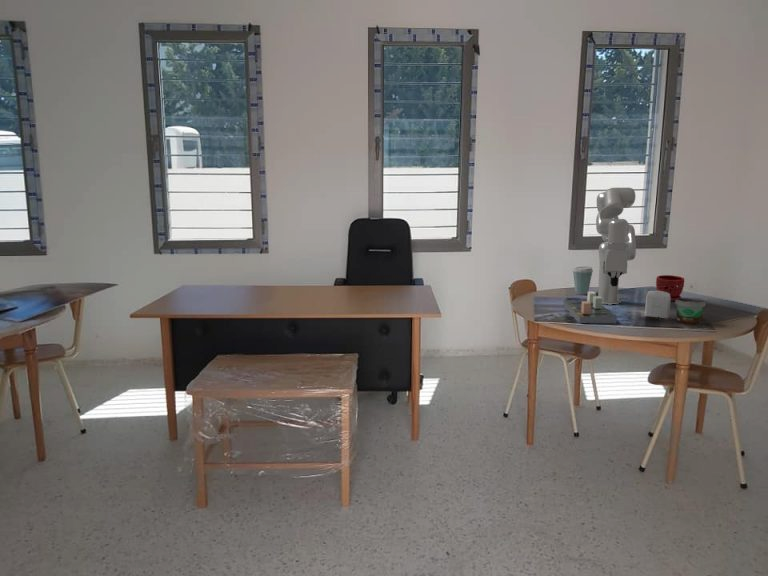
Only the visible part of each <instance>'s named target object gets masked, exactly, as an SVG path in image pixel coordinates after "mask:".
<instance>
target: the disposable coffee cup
mask: <svg viewBox="0 0 768 576" xmlns="http://www.w3.org/2000/svg"><path fill="white" fill-rule="evenodd" d="M593 272H594V271H593V267H592V266H588V265H587V266H575V267H574V268H573V269H572V273H573V283H574V291H575V294H576V295H583V296H584V295H588V292H590V286H591V280H592V277H593V276H592V275H593Z"/></svg>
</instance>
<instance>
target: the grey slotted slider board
mask: <svg viewBox="0 0 768 576" xmlns="http://www.w3.org/2000/svg"><path fill="white" fill-rule="evenodd" d="M582 301H585V300H578V299H577V300H573V299H571V300H566V299H565V300H563V307H564V308H565V310H566V311H567V312H568V311H569V312H568V313H569V314H570V316H572V318H574V319H575V320H576V321H577V323H578V322H579V323H590V325H592V324H593V325H594V324H596V325H597V324H599V325H601V324H603V325H605V324H606V325H607V324H608V325H610V324H611V325H612V324H613V325H616V324H617V316H616V315H614V313H612V312H611V311H610V310H608V309H607V308H606V307H605V306H604V305H602V309H595V308H594V307H593V303H591V310H590V314H583V313H582V312H581V304H582ZM579 323H578V324H579Z"/></svg>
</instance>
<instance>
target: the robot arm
mask: <svg viewBox="0 0 768 576" xmlns="http://www.w3.org/2000/svg"><path fill="white" fill-rule="evenodd" d="M635 201H636V191H635V189H633V188H632V187H610V188H607V190H605V191H602V192H601V193H598V194H597V196H596V208H597V211H598V212H597V215H596V219H595V224H596V225H595V226H596V232H597V233H598V234H599V235H601V239H602V241H603V242H602V243H600V244H599V247H598V257H599V270H598V271H599V275H598V289H597V290H598V291H597V292H598V293H597V296H600V297H601V298H602V305H606V304H608V305H611V306H613V305H612V304H616V305H620V304H621V303H622V301H621V300H628V298H629V297H628V295H623V294H620V293H619V282H620V279H619V278H620V277H621V276H622V275H625V274H627V273H628V271H627V270H628V262H629V261H633V260H634V259H635V258H636V255H637V248H636V247H637V245H636V241H637V240H636V230H635V227H634V226H633V225H632V224H630V223H629V221H627V220H626V219H625V218H619V216H620V215H621V214H622V213H623V212H624V209H628V208H631V207H632V206H633V205H634V203H635ZM619 303H620V304H619Z"/></svg>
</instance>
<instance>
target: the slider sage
mask: <svg viewBox="0 0 768 576" xmlns="http://www.w3.org/2000/svg"><path fill="white" fill-rule="evenodd" d="M602 306H603V304H602V298H601V297H600V296H598V295H596V296H593V307H594V308H595V309H602Z"/></svg>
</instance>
